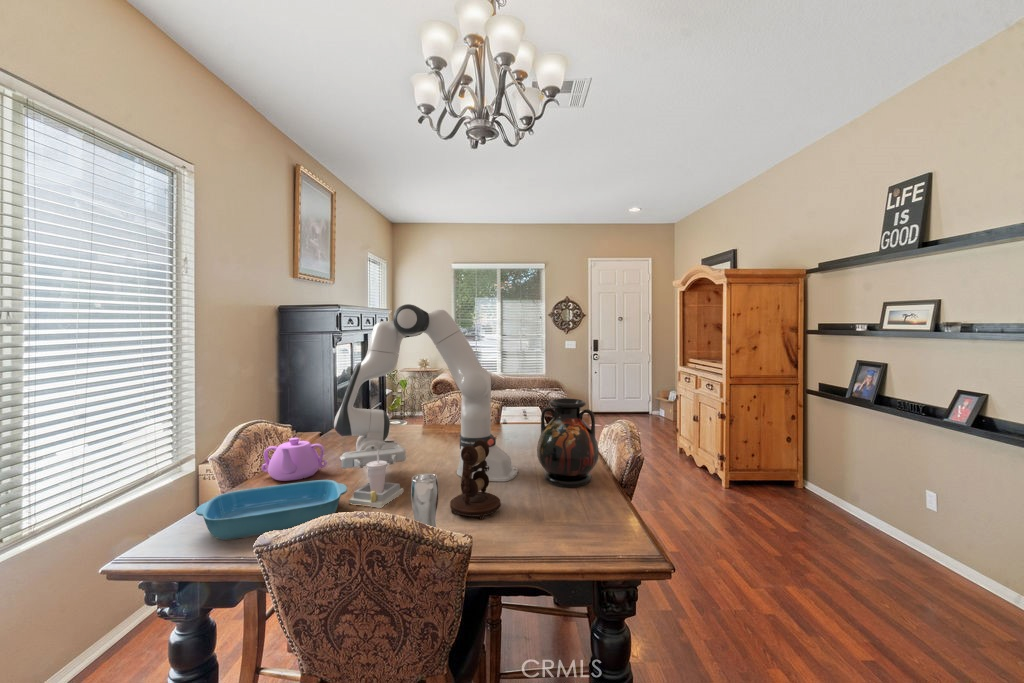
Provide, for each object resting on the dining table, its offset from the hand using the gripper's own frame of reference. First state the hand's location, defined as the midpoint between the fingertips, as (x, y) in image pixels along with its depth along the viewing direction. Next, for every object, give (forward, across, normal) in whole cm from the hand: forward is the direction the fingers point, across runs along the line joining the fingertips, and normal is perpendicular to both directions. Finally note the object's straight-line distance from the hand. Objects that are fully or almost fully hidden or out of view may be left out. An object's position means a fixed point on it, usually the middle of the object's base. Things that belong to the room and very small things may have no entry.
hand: (376, 463), depth 137 cm
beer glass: (+31, +8, +11) cm, 34 cm away
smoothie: (0, 0, +10) cm, 10 cm away
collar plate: (0, 0, +11) cm, 11 cm away
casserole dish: (+5, -28, +12) cm, 30 cm away
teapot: (-33, -25, +11) cm, 43 cm away
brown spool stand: (+22, +25, +11) cm, 35 cm away
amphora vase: (+11, +63, +11) cm, 65 cm away
